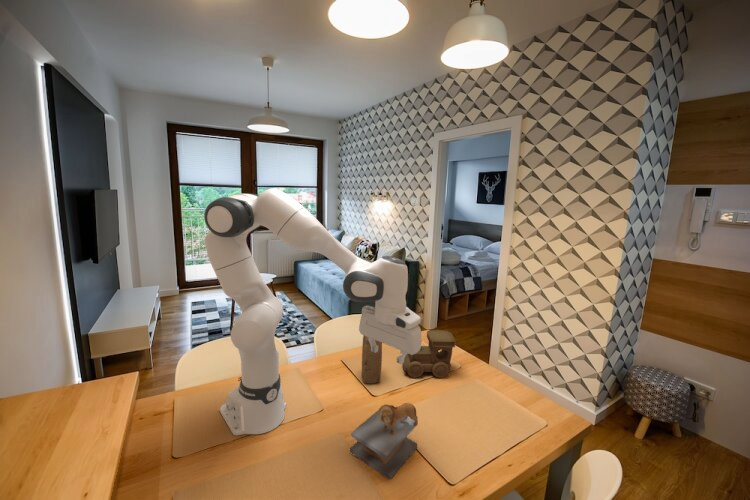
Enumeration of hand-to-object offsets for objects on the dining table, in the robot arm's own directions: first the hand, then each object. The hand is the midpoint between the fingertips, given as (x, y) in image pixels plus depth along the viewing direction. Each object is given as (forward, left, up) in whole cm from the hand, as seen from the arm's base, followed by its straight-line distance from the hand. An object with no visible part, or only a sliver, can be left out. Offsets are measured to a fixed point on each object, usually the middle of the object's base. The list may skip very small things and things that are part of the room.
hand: (386, 357), depth 95 cm
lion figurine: (+7, -3, -19) cm, 20 cm away
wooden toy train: (-7, +41, -26) cm, 49 cm away
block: (-22, +22, -26) cm, 41 cm away
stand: (+4, -5, -26) cm, 27 cm away
